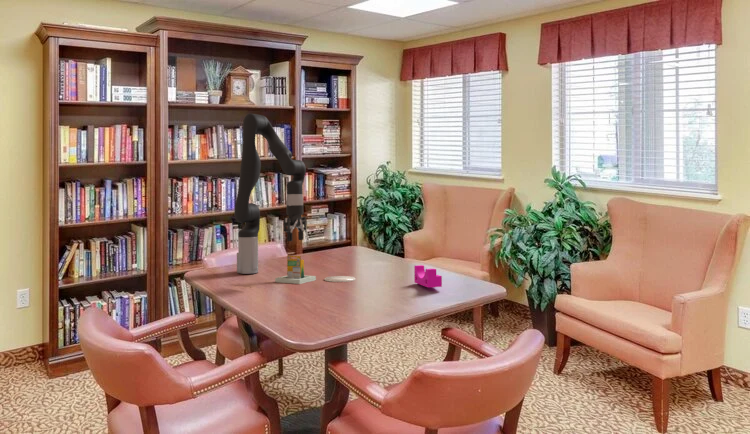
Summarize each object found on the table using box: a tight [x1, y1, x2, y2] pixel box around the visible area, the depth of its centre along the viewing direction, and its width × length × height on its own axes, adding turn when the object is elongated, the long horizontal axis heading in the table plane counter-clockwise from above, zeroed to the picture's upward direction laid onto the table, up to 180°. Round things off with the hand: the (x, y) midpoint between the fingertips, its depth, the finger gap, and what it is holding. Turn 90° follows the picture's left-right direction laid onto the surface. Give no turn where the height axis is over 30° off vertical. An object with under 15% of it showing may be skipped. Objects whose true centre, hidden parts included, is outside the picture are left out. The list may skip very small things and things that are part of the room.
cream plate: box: [324, 275, 356, 283], centre depth 265 cm, size 14×14×1 cm
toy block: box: [413, 264, 443, 288], centre depth 251 cm, size 15×6×8 cm, turn 18°
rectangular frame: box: [274, 274, 317, 285], centre depth 261 cm, size 13×13×2 cm
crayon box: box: [286, 255, 305, 279], centre depth 261 cm, size 7×3×12 cm, turn 65°
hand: (295, 240), depth 261 cm, fingers open, 8 cm apart
